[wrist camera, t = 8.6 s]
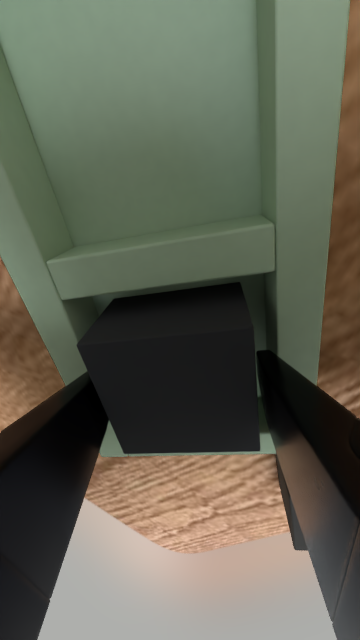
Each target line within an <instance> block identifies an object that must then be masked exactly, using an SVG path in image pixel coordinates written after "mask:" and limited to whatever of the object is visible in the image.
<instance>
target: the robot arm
mask: <svg viewBox="0 0 360 640" xmlns="http://www.w3.org/2000/svg"><path fill="white" fill-rule="evenodd" d="M256 364H257V376H258V382H259V387H260V392H261V398H262V403H263V408H264V413H265V418H266V422H267V425H268V429H269V432H270V435H271V438H272V441H273V444H274V447H275V450H276V453H277V456H278V459H279V462H280V466H281V469H282V472H283V475H284V478H285V481H286V484H287V487H288V490H289V493H290V496H291V499H292V502H293V505H294V508H295V512H296V515H297V518H298V521H299V524H300V527H301V530H302V533H303V536H304V539H305V542H306V545H307V548H308V551H309V554H310V557H311V561H312V564H313V567H314V569H315V573H316V576H317V579H318V582H319V585H320V588H321V591H322V594H323V597H324V600H325V603H326V607H327V610H328V612H329V616H330V619H331V621H332V622H333V624H332V625H333V628H334V632H335V634H336V637H337V640H360V419H359V418H356V416H355V415H354V414H353V413H351V412H350V411H349V410H347V409H346V408H345V407H344V406H342V405H341V404H340V403H338V402H337V401H336V400H334V399H333V398H332V397H331V396H329V395H328V394H327V393H325V392H324V391H323V390H321V389H320V388H319V387H318V386H316V385H315V384H314V383H312V382H311V381H310V380H308V379H307V378H306V377H305V376H303V375H302V374H301V373H299V372H298V371H297V370H295V369H294V368H293V367H292V366H290V365H289V364H288V363H286V362H285V361H284V360H282V359H281V358H280V357H279V356H277V355H276V354H275V353H273V352H272V351H271V350H258V351H257V352H256ZM108 422H109V419H108V416H107V414H106V412H105V410H104V407H103V405H102V403H101V401H100V398H99V396H98V394H97V391H96V389H95V387H94V385H93V382H92V380H91V378H90V376H89V373H88V371H87V372H85V373H84V374H82V375H81V376H80V377H78V378H77V379H75V380H74V381H72V382H71V383H69V384H68V385H67V386H65V387H64V388H62V389H61V390H59V391H58V392H57V393H55V394H54V395H52V396H51V397H49V398H48V399H47V400H45V401H44V402H42V403H41V404H39V405H38V406H37V407H35V408H34V409H32V410H31V411H29V412H28V413H27V414H25V415H24V416H22V417H21V418H19V419H18V420H17V421H15V422H14V423H12V424H11V425H9V426H8V427H7V428H5V429H4V430H2V431H1V433H0V640H37V639H38V636H39V632H40V629H41V626H42V624H43V621H44V618H45V615H46V612H47V609H48V605H49V602H50V598H51V596H52V593H53V590H54V587H55V584H56V580H57V578H58V575H59V572H60V569H61V566H62V563H63V560H64V557H65V553H66V551H67V548H68V544H69V541H70V538H71V535H72V533H73V530H74V527H75V524H76V521H77V518H78V514H79V511H80V508H81V505H82V502H83V499H84V496H85V493H86V490H87V487H88V484H89V481H90V478H91V475H92V472H93V469H94V466H95V463H96V460H97V457H98V454H99V451H100V448H101V445H102V442H103V439H104V436H105V433H106V430H107V426H108Z"/></svg>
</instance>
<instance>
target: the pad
mask: <svg viewBox="0 0 360 640" xmlns="http://www.w3.org/2000/svg"><path fill="white" fill-rule="evenodd" d="M77 348H78V350H79V353H80V355H81V357H82V360H83V362H84V364H85V366H86V369H87V371H88V373H89V376H90V378H91V380H92V382H93V385H94V387H95V389H96V391H97V394H98V396H99V398H100V401H101V403H102V405H103V407H104V410H105V412H106V414H107V416H108V419H109V421H110V423H111V426H112V428H113V430H114V432H115V435H116V437H117V439H118V441H119V444H120V446H121V448H122V451H123V453H124V454H152V453H203V452H254V451H260V431H259V413H258V394H257V376H256V358H255V340H254V326H253V323H252V320H251V316H250V313H249V310H248V306H247V303H246V300H245V296H244V293H243V289H242V286H241V283H240V282H235V283H227V284H220V285H212V286H205V287H197V288H190V289H182V290H175V291H167V292H160V293H152V294H145V295H137V296H130V297H122V298H114V299H113V300H112V301H111V302H110V304H109V305H108V306H107V307H106V309H105V310H104V311H103V312H102V314H101V315H100V316H99V317H98V319H97V320H96V321H95V322H94V323H93V325H92V326H91V327H90V328H89V330H88V331H87V332H86V333H85V335H84V336H83V337H82V338H81V339H80V341H79V342H78V343H77Z"/></svg>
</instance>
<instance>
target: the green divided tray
mask: <svg viewBox="0 0 360 640" xmlns="http://www.w3.org/2000/svg"><path fill="white" fill-rule="evenodd" d="M349 10H350V0H0V256H1V258H2V260H3V262H4V264H5V266H6V268H7V270H8V272H9V274H10V276H11V278H12V280H13V282H14V284H15V286H16V288H17V290H18V292H19V294H20V296H21V298H22V300H23V302H24V304H25V306H26V308H27V310H28V312H29V314H30V316H31V318H32V320H33V322H34V324H35V326H36V328H37V330H38V332H39V334H40V336H41V338H42V340H43V342H44V344H45V346H46V348H47V349H48V351H49V353H50V355H51V357H52V359H53V361H54V363H55V365H56V367H57V369H58V371H59V373H60V375H61V377H62V379H63V381H64V383H65V385H66V386H67V385H68V384H69V383H71V382H72V381H74V380H75V379H77V378H78V377H80V376H81V375H82V374H84V373H85V372H87V369H86V366H85V364H84V362H83V360H82V357H81V355H80V353H79V350H78V348H77V343H78V342H79V341H80V339H81V338H82V337H83V336H84V335H85V333H86V332H87V331H88V330H89V328H90V327H91V326H92V325H93V323H94V322H95V321H96V320H97V319H98V317H99V316H100V315H101V314H102V312H103V311H104V310H105V309H106V307H107V306H108V305H109V304H110V302H111V301H112V300H113V299H114V298H122V297H130V296H137V295H145V294H152V293H160V292H167V291H175V290H182V289H190V288H197V287H205V286H212V285H220V284H227V283H235V282H240V283H241V286H242V289H243V293H244V296H245V300H246V303H247V306H248V310H249V313H250V316H251V320H252V323H253V326H254V340H255V358H256V352H257V351H258V350H271V351H272V352H273V353H275V354H276V355H277V356H279V357H280V358H281V359H282V360H284V361H285V362H286V363H288V364H289V365H290V366H292V367H293V368H294V369H295V370H297V371H298V372H299V373H301V374H302V375H303V376H305V377H306V378H307V379H308V380H310V381H311V382H312V383H314V384H315V385H316V386H317V376H318V365H319V353H320V342H321V330H322V319H323V307H324V296H325V284H326V273H327V262H328V250H329V239H330V227H331V216H332V204H333V193H334V181H335V170H336V159H337V147H338V136H339V124H340V113H341V101H342V90H343V78H344V67H345V56H346V44H347V33H348V21H349ZM256 376H257V364H256ZM257 394H258V413H259V431H260V451H254V452H203V453H152V454H124V453H123V451H122V448H121V446H120V444H119V441H118V439H117V437H116V435H115V432H114V430H113V428H112V426H111V423H110V421H109V422H108V426H107V430H106V433H105V436H104V439H103V442H102V445H101V448H100V451H99V453H100V455H101V456H102V457H127V456H176V455H235V454H276V450H275V447H274V444H273V441H272V438H271V435H270V432H269V429H268V425H267V422H266V418H265V413H264V408H263V403H262V398H261V392H260V387H259V382H258V376H257Z"/></svg>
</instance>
